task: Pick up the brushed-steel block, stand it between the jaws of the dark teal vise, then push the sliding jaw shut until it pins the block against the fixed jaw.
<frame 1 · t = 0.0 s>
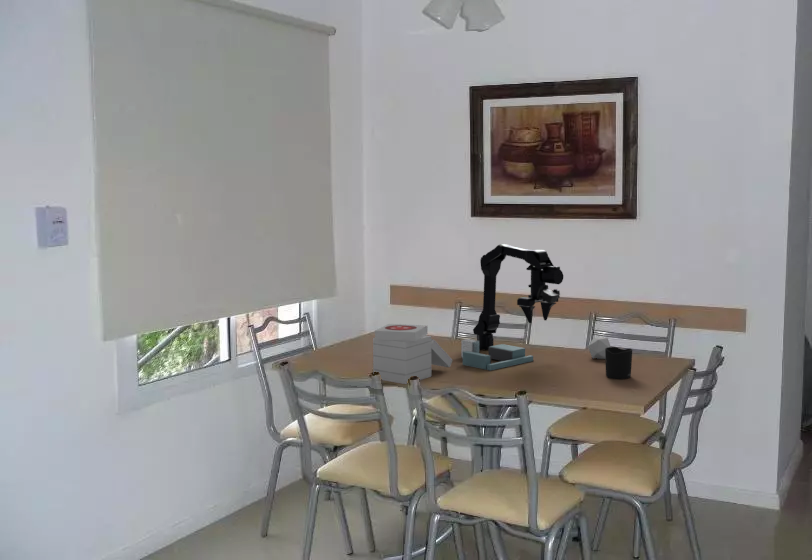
hand: (537, 321, 353), 15 cm above the table, fingers open, 9 cm apart
vise body: (476, 366, 340), on the table
steel block: (470, 357, 357), on the table
sliding jaw: (506, 353, 351), point 3 cm above the table, slide at 0.0 cm
pizza boxes: (411, 375, 328), on the table
pen holder: (618, 377, 322), on the table
die: (599, 358, 354), on the table
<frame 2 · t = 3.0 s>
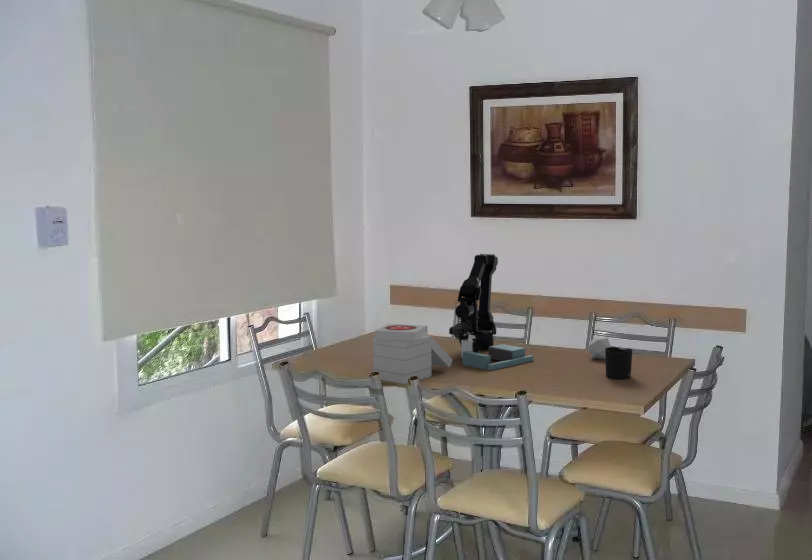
hand: (470, 353, 357), 2 cm above the table, fingers closed on steel block, 6 cm apart
steel block: (470, 357, 357), on the table, touching gripper
everything else where it was.
when the fingers open (3 cm above the table, at t = 7.4 s): steel block stays where it is, on the table.
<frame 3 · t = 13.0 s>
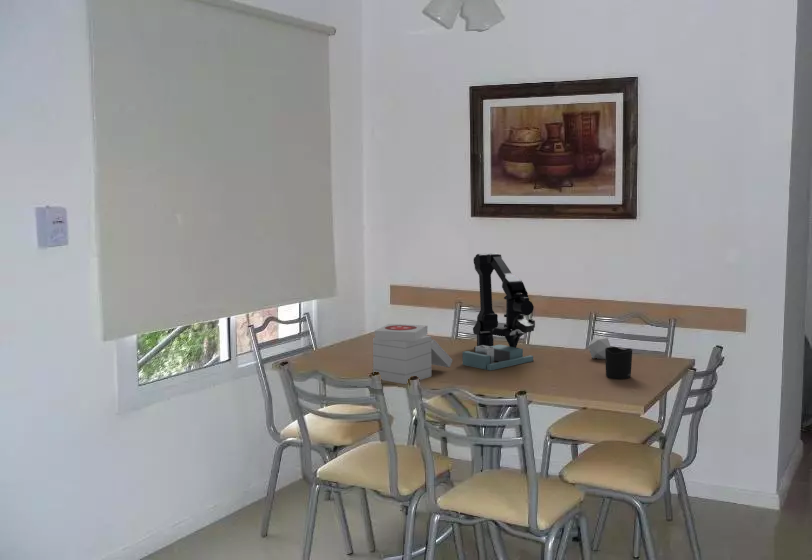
hand: (513, 351, 354), 3 cm above the table, fingers closed
steel block: (484, 364, 344), on the table
sliding jaw: (504, 353, 350), point 3 cm above the table, slide at 1.4 cm, touching gripper
everything else where it was.
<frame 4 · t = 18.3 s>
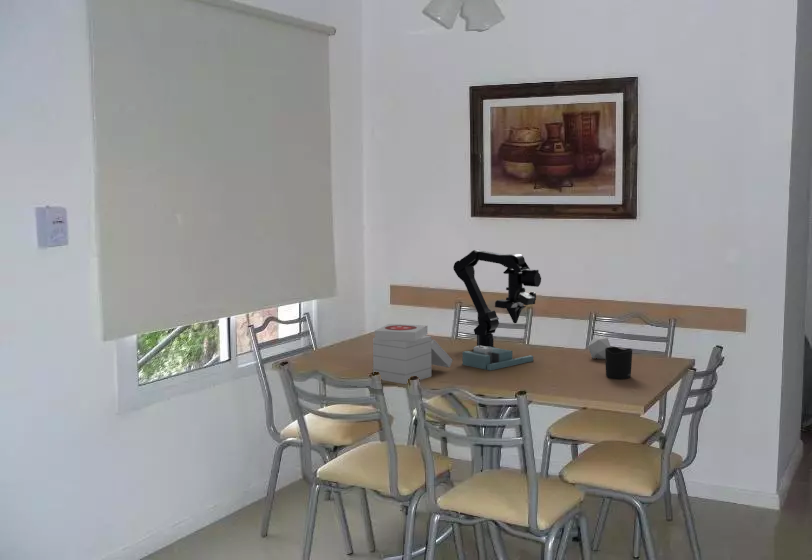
hand: (515, 323, 365), 12 cm above the table, fingers closed
steel block: (482, 365, 343), on the table
sliding jaw: (493, 356, 346), point 3 cm above the table, slide at 7.5 cm
everything else where it was.
at the end: steel block 0.4 cm from the target spot, on the table; steel block tilted 0°; sliding jaw slide at 7.5 cm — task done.
